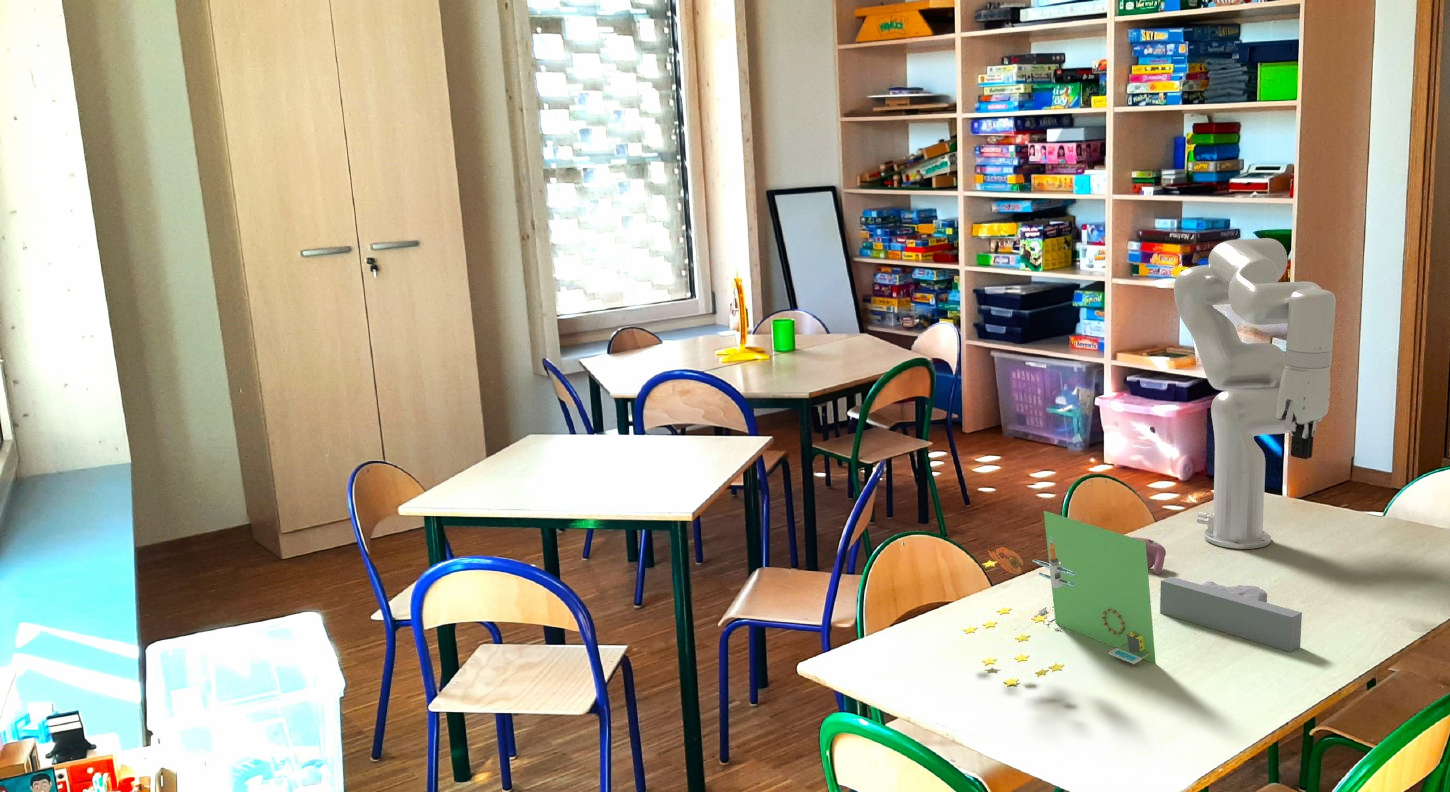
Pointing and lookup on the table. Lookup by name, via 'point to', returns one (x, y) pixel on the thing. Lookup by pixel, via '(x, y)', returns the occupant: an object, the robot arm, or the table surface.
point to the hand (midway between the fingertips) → (1301, 456)
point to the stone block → (1241, 591)
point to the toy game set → (1092, 588)
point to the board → (1231, 613)
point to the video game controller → (1154, 554)
